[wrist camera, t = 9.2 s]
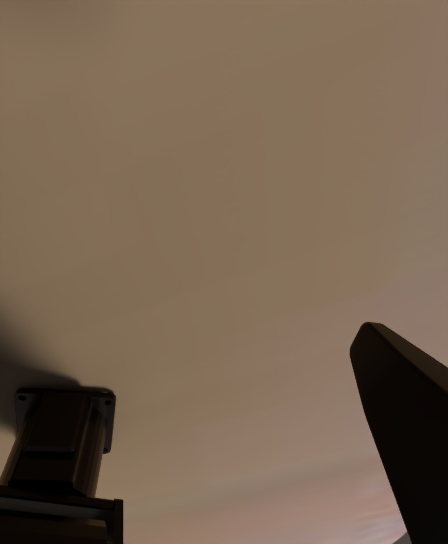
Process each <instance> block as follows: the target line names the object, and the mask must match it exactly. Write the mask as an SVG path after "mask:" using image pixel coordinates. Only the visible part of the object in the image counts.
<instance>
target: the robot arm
mask: <svg viewBox="0 0 448 544" xmlns="http://www.w3.org/2000/svg"><path fill="white" fill-rule="evenodd" d="M350 359H351V363H352V367H353V371H354V375H355V379H356V383H357V387H358V390H359V394H360V398H361V402H362V406H363V409H364V413H365V416H366V419H367V422H368V425H369V428H370V430H371V433H372V436H373V439H374V441H375V444H376V447H377V449H378V452H379V455H380V458H381V460H382V463H383V466H384V469H385V471H386V474H387V477H388V480H389V482H390V485H391V488H392V491H393V493H394V496H395V499H396V502H397V504H398V507H399V510H400V513H401V515H402V518H403V521H404V524H405V526H406V529H407V532H408V535H409V537H410V540H411V543H412V544H448V367H446V366H445V365H443V364H442V363H440V362H439V361H437V360H436V359H434V358H433V357H431V356H430V355H428V354H427V353H425V352H424V351H422V350H421V349H419V348H418V347H416V346H415V345H413V344H412V343H410V342H409V341H407V340H406V339H404V338H403V337H401V336H400V335H398V334H397V333H395V332H394V331H392V330H391V329H389V328H388V327H386V326H385V325H383V324H381V323H374V322H365V323H364V324H362V326H361V327H360V329H359V331H358V333H357V335H356V337H355V339H354V341H353V343H352V345H351V347H350ZM14 399H15V409H16V418H17V428H18V435H17V437H16V440H15V442H14V445H13V447H12V450H11V452H10V455H9V457H8V460H7V462H6V465H5V467H4V470H3V472H2V475H1V477H0V544H123V500H121V499H114V500H109V499H101V498H95V494H96V488H97V483H98V477H99V471H100V466H101V460H102V454H106V453H109V452H110V450H111V444H112V434H113V424H114V414H115V404H116V396H115V395H114V394H111V393H99V392H82V391H64V390H47V389H30V388H21V389H18V390H17V392H16V394H15V397H14Z"/></svg>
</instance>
